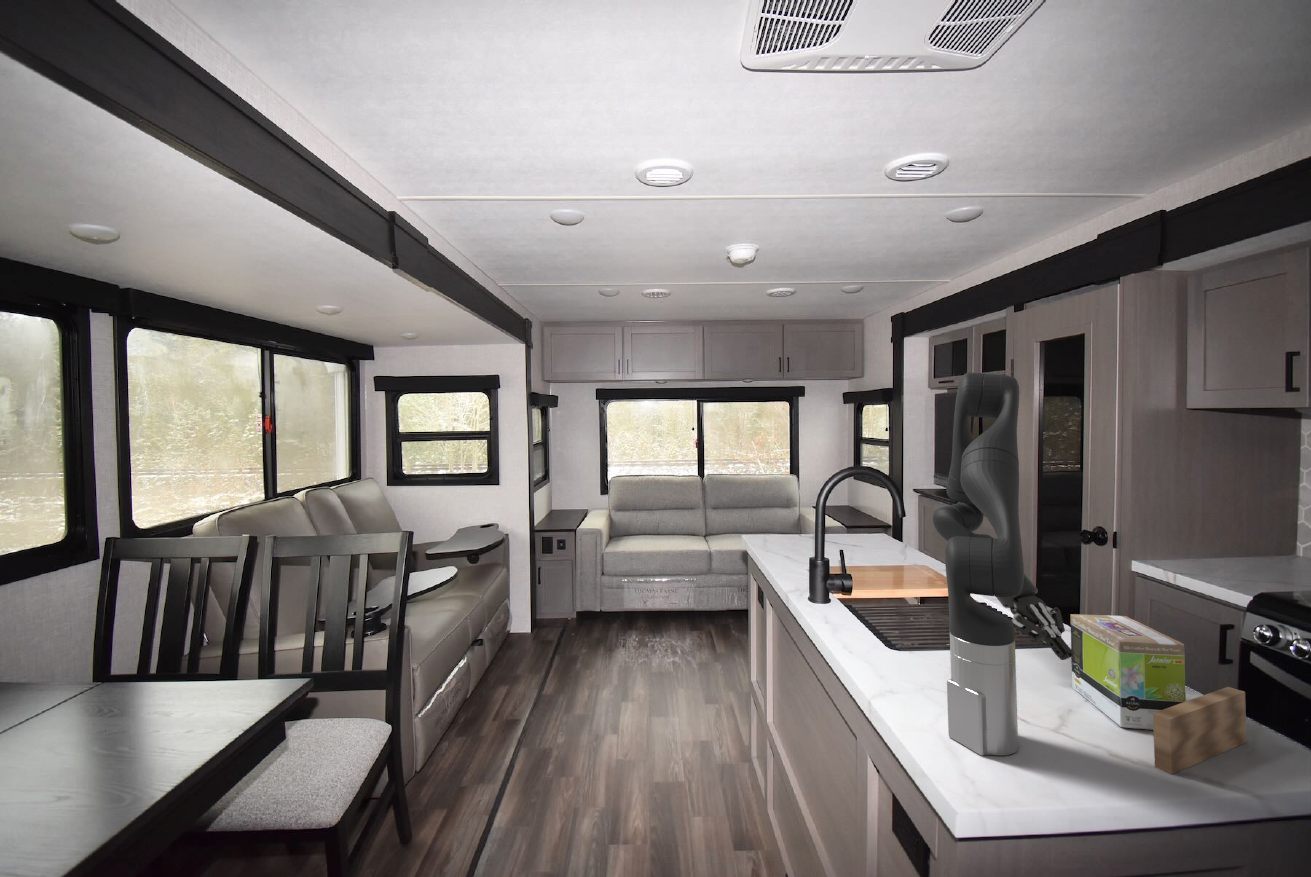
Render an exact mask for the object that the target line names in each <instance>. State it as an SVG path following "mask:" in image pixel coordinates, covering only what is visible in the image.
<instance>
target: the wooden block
mask: <svg viewBox="0 0 1311 877" xmlns="http://www.w3.org/2000/svg"><path fill="white" fill-rule="evenodd" d="M1246 707H1247V706H1246V691H1244V690H1240V689H1237V688H1233V687H1230V686H1226V687H1223V688H1220V689H1217V690H1214V691H1212V692H1209V693H1206V694H1203V695H1200V696H1198V697H1195V698H1192V699H1189V700H1187V701H1186V702H1183V703H1180V704H1178V705H1175V706H1172V707H1169V708H1166V709H1163V710H1161V711H1158V712H1155V713H1153V725H1154V730H1153V744H1154V745H1153V749H1154V750H1153V751H1154V752H1153V753H1154V755H1153V757H1154V767H1155V768H1157V769H1159V770H1160V771H1163V772H1165V773H1168V774H1170V775H1173V774H1175V773H1177V772H1180V771H1183V770H1185V769H1187V768H1189V767H1192V766H1194V765H1196V764H1199V763H1201V762H1203V761H1206V760H1208V759H1211V758H1213V757H1215V756H1217V755H1220V754H1222V753H1225V752H1227V751H1229V750H1232V749H1234V748H1236V747H1239V746H1241V745H1243V744H1246V743H1247V742H1248V741H1247V713H1246V710H1247V709H1246Z"/></svg>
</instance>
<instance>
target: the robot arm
mask: <svg viewBox="0 0 1311 877" xmlns="http://www.w3.org/2000/svg"><path fill="white" fill-rule="evenodd" d="M1019 405H1020V385H1019V382H1018V380H1017V378H1015V377H1014V376H1011V375H1006V374H996V373H985V372H984V373H982V372H981V373H980V372H966V373H964V374H963V375H962V376H961V378H960V380H959V382H958V386H957V391H956V395H955V404H954V416H953V426H952V428H953V429H952V448H951V449H952V452H951V463H950V468H949V473H948V478H947V482H946V483H947V484H946V494H947V496H948V498H950V499H951V500H952V501H954V502H957V503H954V504H950V505H945V506H941V507H939V508H937V509H936V510H935V511H934V512H933V515H932V523H933V526H934V528H935V530H936V531H937V533H938V534H939V536H941V537H942V538H943V539H944V540H945V541H946V542H947V543H946V546H945V550H944V551H945V553H944V555H945V556H944V564H945V574H946V575H945V576H946V584H947V596H948V598H947V599H948V619H949V622H948V624H949V650H950V653H949V654H950V679H947V681H946V696H947V698H946V699H947V728H948V737H949V738H951V739H952V740H954V741H955V742H957V743H959V744H961V745H963V746H965V747H966V748H968V749H969V750H971V751H973V752H974V753H977V754H978V755H979V756H985V755H986V756H987V755H992V756H1008V755H1011V754H1012V755H1013V754H1015V753H1016V752H1018V749H1019V728H1018V727H1019V725H1018V698H1017V697H1018V695H1017V692H1018V691H1017V665H1016V663H1017V662H1016V657H1017V655H1016V631H1015V629H1017V630H1018V631H1020V632H1021V633H1023V634H1024V635H1026V636H1028V637H1029V638H1031V639H1033V640H1034V641H1035V642H1039V641H1041V642H1043V643H1045V644H1047V645H1048V646H1049V648H1050V649H1051V650H1052V652H1053V653H1054V654H1055V656H1057V657H1058V658H1059V660H1061V661H1065V660H1068V659H1070V658H1071V647H1070V646H1069V645H1068V644H1067V643H1066V642H1065V640H1064V639H1063V637H1062V634H1063V633H1065V632H1066V628H1065V625H1064V621H1063V618H1062V616H1063V615H1062V612H1061V610H1060V609H1059V607H1057V606H1055V607H1054V608H1052V607H1050V606H1047V604H1046V603H1045V602H1044V600H1042V599H1041V598H1039V597H1038V591H1039V590H1038V588H1037V587H1036V586H1035V584H1034V583H1033V582H1032V581H1031V579H1030V578H1029V577H1028V576H1027V574H1026V573H1025V570H1024V568H1025V565H1024V555H1023V546H1022V538H1021V537H1022V536H1021V535H1022V534H1021V526H1020V515H1019V512H1020V511H1019V503H1020V502H1019V501H1020V499H1019V495H1020V460H1019V453H1018V452H1019V449H1018V421H1019V420H1018V419H1019V418H1018V417H1019V407H1020V406H1019ZM971 417H973V418H982V419H983V418H985V419H993V420H995V421H994V422H993V424H992V425H991V426H990V427H988V429H986V430H984V431H983V432H982V433H981V434H979V435H978V436H977V437H976V438H974V435H973V434H972V431H971V430H972V429H971V424H970V423H971V422H970V421H971ZM984 517H985V518H986V519H987V521H988V522H989V523H990V525H991V527H992V528H993V530H994V532H995V535H996V536H997V538H994V537H992V536H991V535H990V534H982V533H981V534H979V533H975V532H974V531H977V530H978V529H979V528H980V527H981V526H982V524H983V522H984ZM972 595H981V596H988V597H995V598H996V599H997V600H998V601H999V603H1000V604H1001V606H1002V607H1003V608H1005V609H1009V610H1010V613H1011V614H1012V615H1013V617H1012V619H1009V618H1008V617H1006V616H1005V615H1003V614H1000V613H999V612H996V611H994V610H992V609H989V608H987V607H986V606H984V605H983V604H981V603H979V602H978V601H977V600H975V599H974V598H973V597H972Z"/></svg>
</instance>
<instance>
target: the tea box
mask: <svg viewBox="0 0 1311 877" xmlns="http://www.w3.org/2000/svg"><path fill="white" fill-rule="evenodd" d="M1069 615H1070V649H1071V657H1070V658H1071V660H1070V661H1071V662H1070V663H1071V688H1072V689H1073V690H1075V691H1076V692H1077V693H1078V694H1080V695H1081V696H1082V697H1083V698H1085V699H1086V700H1087V701H1089V702H1090V703H1091V704H1092V705H1094V707H1096V708H1097V709H1098V710H1099V711H1101V712H1102V713H1103V714H1105V715H1106V717H1107V718H1109V719H1111V720H1112V721H1113V722H1115V724H1117V725H1118V726H1119V727H1121V728H1127V729H1128V728H1129V729H1136V730H1137V729H1138V730H1149V731H1150V730H1153V731H1154V725H1153V713H1155V712H1158V711H1161V710H1163V709H1166V708H1169V707H1172V706H1175V705H1178V704H1180V703H1183V702H1186V700H1187V699H1186V670H1185V669H1186V668H1185V667H1186V666H1185V664H1186V663H1185V661H1186V659H1185V656H1186V655H1185V644H1184V643H1182V642H1181V641H1179V640H1176V639H1174V638H1172V637H1171V636H1168V635H1167V634H1164V633H1161V632H1160V631H1158V630H1156V629H1154V628H1152V627H1150V626H1147V625H1145V624H1144V623H1141V622H1139V621H1137V620H1135V619H1132V618H1130V617H1129V616H1127V615H1109V614H1107V615H1105V614H1104V615H1102V614H1078V613H1077V614H1076V613H1074V614H1072V613H1071V614H1069Z"/></svg>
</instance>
